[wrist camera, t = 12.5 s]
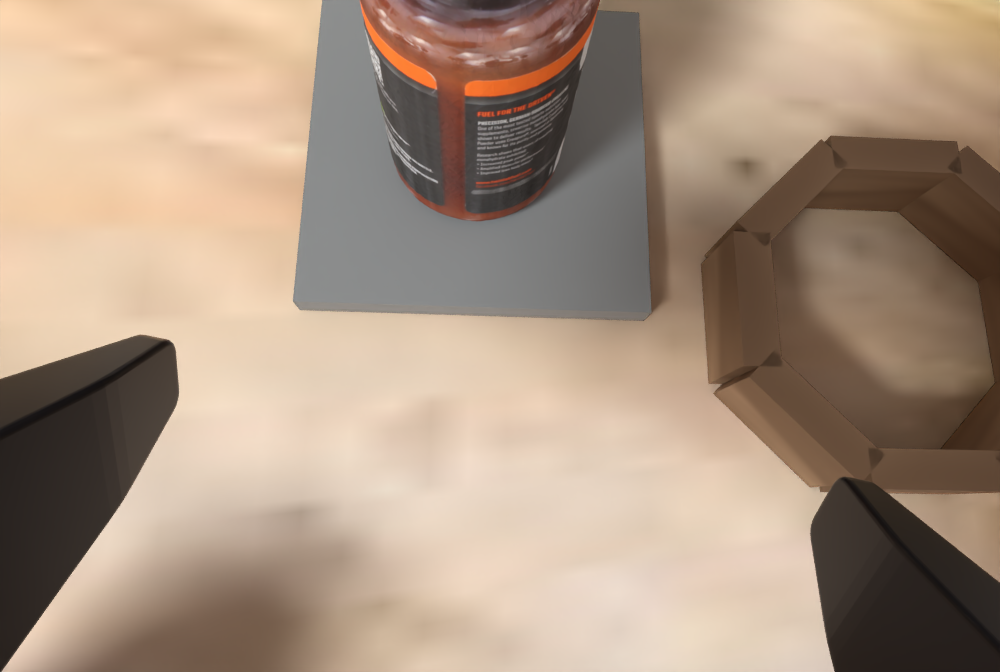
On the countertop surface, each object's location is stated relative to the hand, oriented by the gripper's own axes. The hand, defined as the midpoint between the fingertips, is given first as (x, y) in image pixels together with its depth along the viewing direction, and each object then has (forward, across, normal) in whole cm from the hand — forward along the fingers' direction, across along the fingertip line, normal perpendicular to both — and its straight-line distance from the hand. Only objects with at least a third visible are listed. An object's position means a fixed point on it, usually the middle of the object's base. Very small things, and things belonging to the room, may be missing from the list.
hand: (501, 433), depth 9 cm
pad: (+18, +2, +2) cm, 18 cm away
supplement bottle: (+17, +2, +1) cm, 17 cm away
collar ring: (+15, -12, +4) cm, 20 cm away
